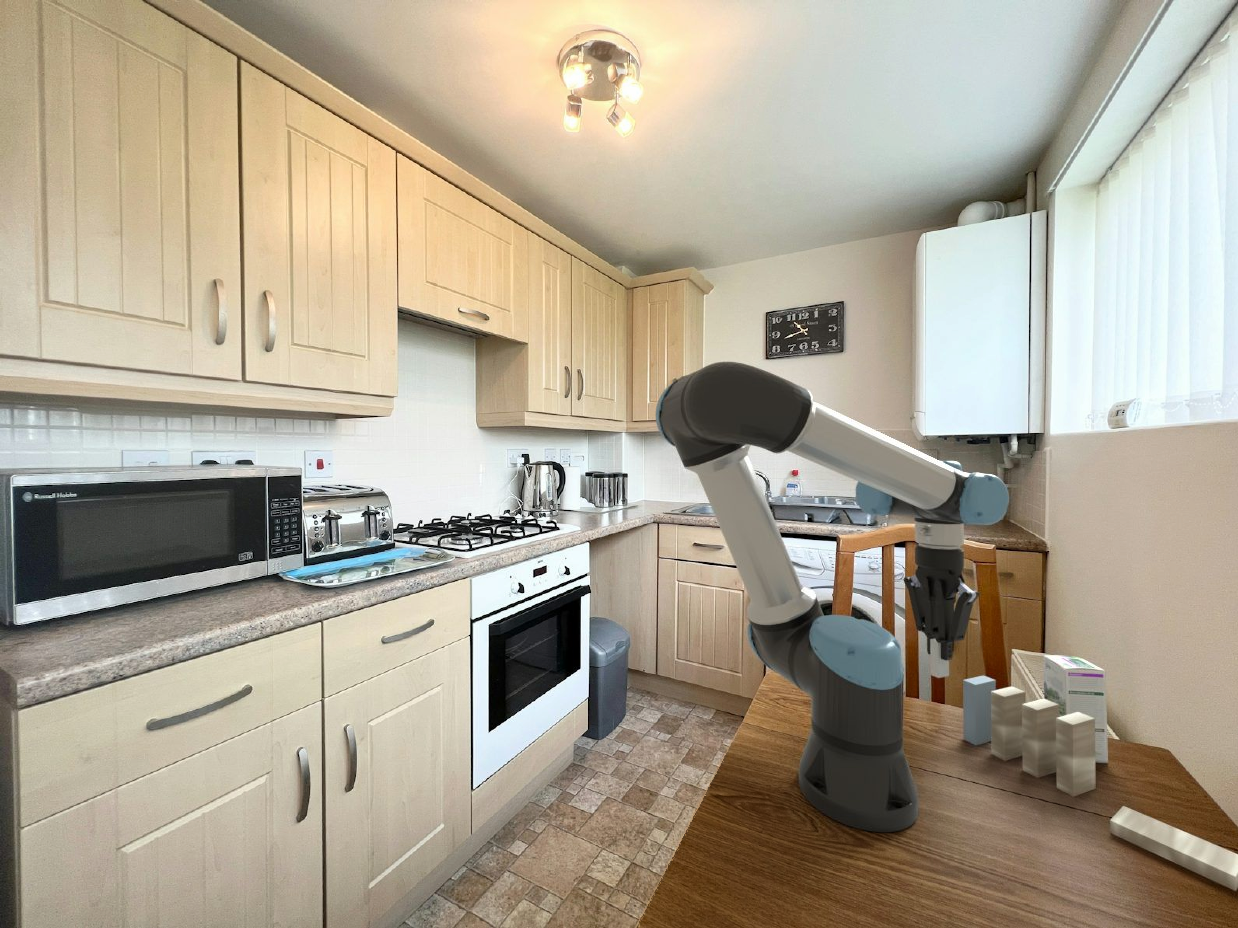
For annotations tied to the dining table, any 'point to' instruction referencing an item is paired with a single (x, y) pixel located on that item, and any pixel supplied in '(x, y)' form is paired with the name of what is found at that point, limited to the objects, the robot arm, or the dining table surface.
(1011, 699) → the domino
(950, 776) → the dining table surface
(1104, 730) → the syrup box
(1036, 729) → the domino
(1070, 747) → the domino
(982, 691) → the domino
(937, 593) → the robot arm
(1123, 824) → the domino
